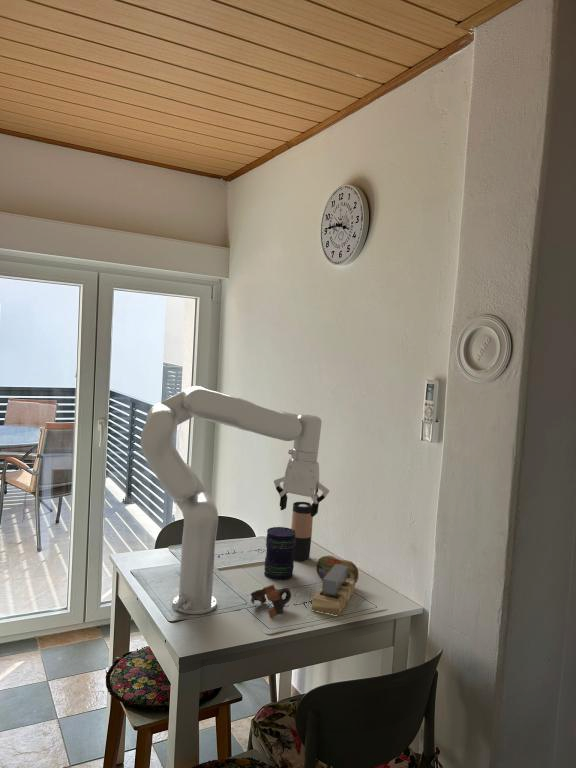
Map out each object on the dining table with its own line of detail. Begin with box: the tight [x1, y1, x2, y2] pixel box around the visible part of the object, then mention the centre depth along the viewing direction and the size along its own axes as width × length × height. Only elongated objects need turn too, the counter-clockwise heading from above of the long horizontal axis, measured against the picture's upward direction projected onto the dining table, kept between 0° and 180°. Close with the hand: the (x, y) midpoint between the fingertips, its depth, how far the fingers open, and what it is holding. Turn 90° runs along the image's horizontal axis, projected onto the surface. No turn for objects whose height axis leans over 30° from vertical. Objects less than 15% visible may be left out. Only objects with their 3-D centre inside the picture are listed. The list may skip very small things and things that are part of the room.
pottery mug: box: [250, 584, 292, 619], centre depth 171 cm, size 12×10×8 cm
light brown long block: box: [311, 578, 356, 616], centre depth 180 cm, size 20×8×4 cm, turn 160°
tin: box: [316, 555, 359, 584], centre depth 194 cm, size 15×3×8 cm, turn 54°
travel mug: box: [290, 501, 314, 562], centre depth 215 cm, size 8×8×20 cm
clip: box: [321, 564, 348, 599], centre depth 179 cm, size 14×4×9 cm, turn 160°
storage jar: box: [263, 526, 296, 581], centre depth 197 cm, size 10×10×15 cm
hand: (298, 512), depth 176 cm, fingers open, 9 cm apart
